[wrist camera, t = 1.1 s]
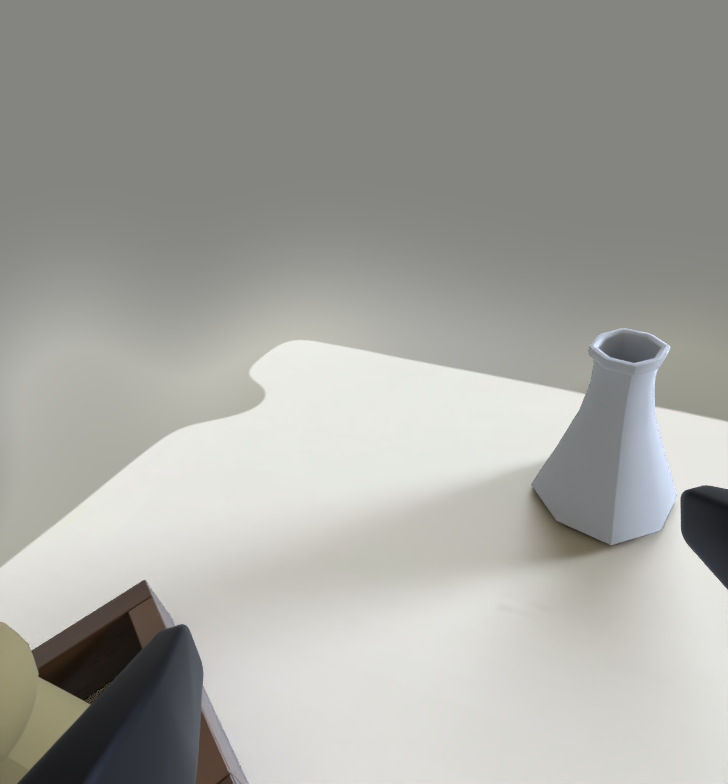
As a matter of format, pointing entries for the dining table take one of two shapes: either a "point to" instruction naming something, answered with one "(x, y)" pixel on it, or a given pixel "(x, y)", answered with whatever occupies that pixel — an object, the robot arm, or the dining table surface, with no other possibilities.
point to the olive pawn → (28, 709)
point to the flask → (613, 447)
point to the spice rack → (114, 652)
